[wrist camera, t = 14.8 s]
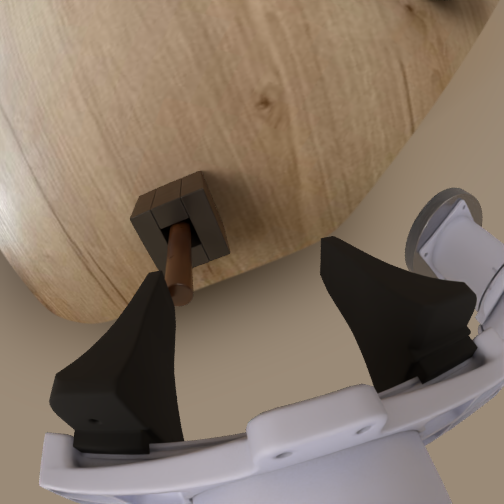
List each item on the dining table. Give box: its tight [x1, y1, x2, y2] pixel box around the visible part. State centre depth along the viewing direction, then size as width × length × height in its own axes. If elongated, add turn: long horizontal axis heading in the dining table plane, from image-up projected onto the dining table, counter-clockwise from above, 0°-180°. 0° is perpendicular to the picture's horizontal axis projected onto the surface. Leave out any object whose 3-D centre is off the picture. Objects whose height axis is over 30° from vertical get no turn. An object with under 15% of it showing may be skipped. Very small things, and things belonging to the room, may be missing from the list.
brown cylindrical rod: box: [165, 218, 193, 306], centre depth 18 cm, size 1×1×10 cm
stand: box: [130, 171, 230, 278], centre depth 20 cm, size 5×5×4 cm
